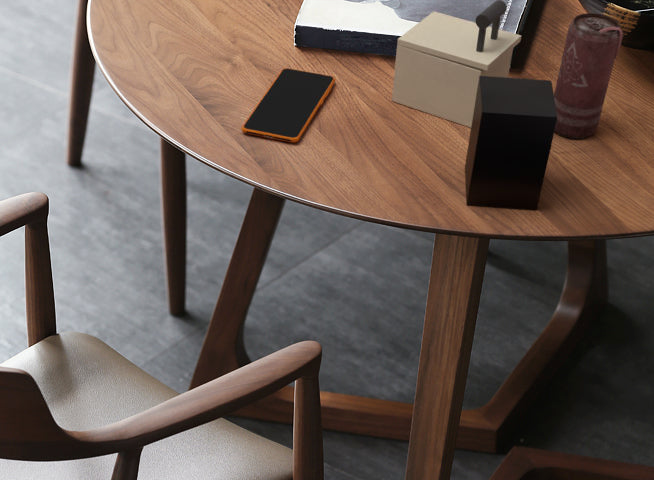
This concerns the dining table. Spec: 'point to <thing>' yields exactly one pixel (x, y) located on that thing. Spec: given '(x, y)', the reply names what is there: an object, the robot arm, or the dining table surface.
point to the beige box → (440, 84)
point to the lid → (463, 37)
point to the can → (585, 73)
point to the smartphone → (289, 105)
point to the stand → (509, 142)
